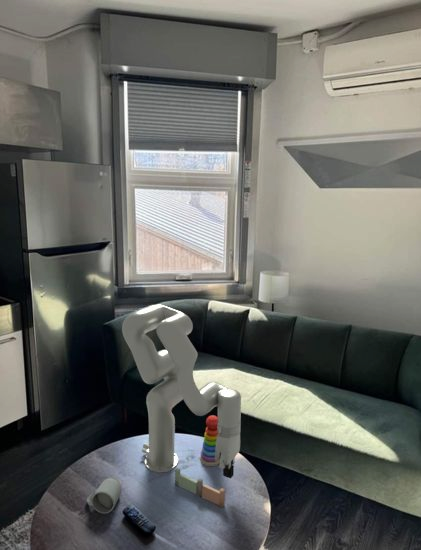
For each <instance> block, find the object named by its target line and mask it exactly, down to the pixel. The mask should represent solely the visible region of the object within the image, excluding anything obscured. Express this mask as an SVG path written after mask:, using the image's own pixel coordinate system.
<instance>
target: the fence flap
mask: <svg viewBox="0 0 421 550" xmlns="http://www.w3.org/2000/svg"><path fill="white" fill-rule="evenodd" d="M196 496H197V497H200V498H201V497H202V498H203V499H205V500H207V501H209V502H211V503H214V504H216V505H218V507H220V508H224V507H225V503H226V502H225V500H226V489H225V488H219V490H218V489H216V488H214V487H211V486H209V485H208V484H205V483H204V479H203V478H197V493H196Z"/></svg>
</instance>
